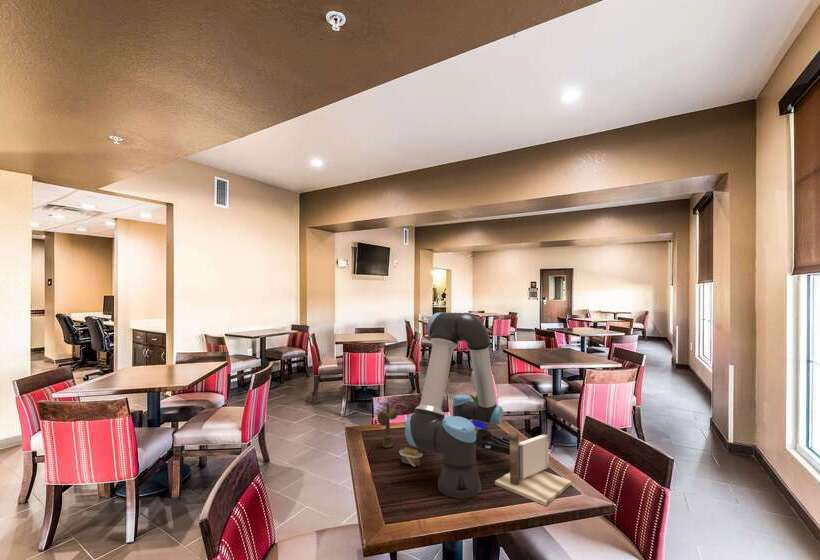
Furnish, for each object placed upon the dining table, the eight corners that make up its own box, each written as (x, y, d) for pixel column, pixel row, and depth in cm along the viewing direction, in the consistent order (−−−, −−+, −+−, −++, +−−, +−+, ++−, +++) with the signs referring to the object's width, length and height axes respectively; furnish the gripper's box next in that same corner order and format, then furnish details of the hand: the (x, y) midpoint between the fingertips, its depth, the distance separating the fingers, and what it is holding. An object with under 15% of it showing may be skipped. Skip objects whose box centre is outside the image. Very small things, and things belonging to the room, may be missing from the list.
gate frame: (545, 506, 118) (544, 444, 119) (495, 484, 132) (494, 429, 133) (571, 484, 132) (570, 429, 133) (523, 466, 146) (522, 417, 147)
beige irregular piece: (424, 477, 138) (424, 459, 138) (382, 468, 145) (383, 451, 146) (436, 464, 149) (436, 447, 149) (396, 456, 156) (396, 440, 157)
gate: (520, 480, 131) (519, 445, 132) (515, 477, 133) (515, 443, 133) (548, 467, 141) (548, 435, 141) (544, 465, 142) (543, 434, 143)
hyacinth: (491, 431, 185) (491, 371, 186) (471, 431, 185) (471, 371, 186) (488, 425, 193) (488, 367, 195) (469, 425, 194) (468, 367, 195)
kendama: (376, 449, 162) (376, 403, 163) (386, 441, 171) (386, 398, 172) (388, 451, 160) (388, 405, 161) (398, 443, 169) (398, 399, 170)
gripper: (488, 442, 160) (540, 459, 143) (470, 451, 150) (522, 470, 133) (488, 424, 160) (539, 439, 143) (469, 432, 151) (522, 449, 134)
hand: (531, 454), depth 138 cm, fingers closed
